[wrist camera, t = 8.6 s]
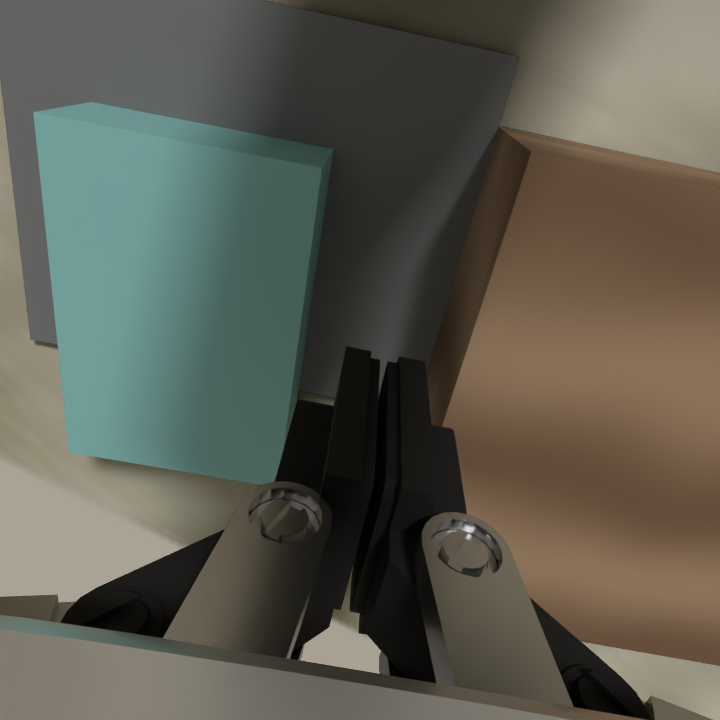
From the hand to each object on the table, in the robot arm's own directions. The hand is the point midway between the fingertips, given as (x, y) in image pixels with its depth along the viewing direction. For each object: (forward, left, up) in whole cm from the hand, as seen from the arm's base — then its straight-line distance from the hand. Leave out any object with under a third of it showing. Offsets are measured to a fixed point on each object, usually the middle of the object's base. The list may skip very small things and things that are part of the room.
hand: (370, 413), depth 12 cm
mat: (-2, -4, -5) cm, 7 cm away
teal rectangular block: (0, -5, -2) cm, 5 cm away
